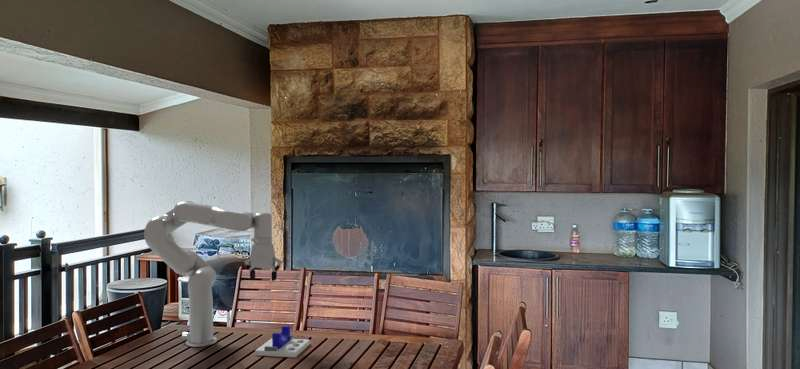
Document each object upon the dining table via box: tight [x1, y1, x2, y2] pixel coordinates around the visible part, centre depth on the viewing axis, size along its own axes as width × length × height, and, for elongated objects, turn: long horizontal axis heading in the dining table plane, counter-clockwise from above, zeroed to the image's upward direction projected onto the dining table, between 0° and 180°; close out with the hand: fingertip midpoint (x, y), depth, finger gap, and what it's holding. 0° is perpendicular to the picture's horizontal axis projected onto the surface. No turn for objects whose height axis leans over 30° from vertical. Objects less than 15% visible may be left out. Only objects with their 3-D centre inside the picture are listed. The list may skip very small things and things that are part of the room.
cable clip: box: [271, 325, 291, 349], centre depth 224 cm, size 12×4×6 cm, turn 171°
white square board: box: [254, 334, 311, 358], centre depth 223 cm, size 17×17×4 cm
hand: (263, 280), depth 236 cm, fingers open, 9 cm apart
